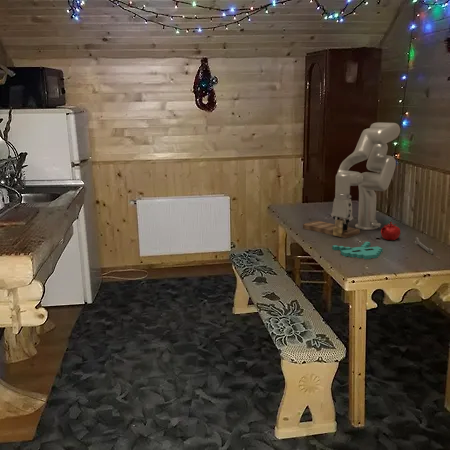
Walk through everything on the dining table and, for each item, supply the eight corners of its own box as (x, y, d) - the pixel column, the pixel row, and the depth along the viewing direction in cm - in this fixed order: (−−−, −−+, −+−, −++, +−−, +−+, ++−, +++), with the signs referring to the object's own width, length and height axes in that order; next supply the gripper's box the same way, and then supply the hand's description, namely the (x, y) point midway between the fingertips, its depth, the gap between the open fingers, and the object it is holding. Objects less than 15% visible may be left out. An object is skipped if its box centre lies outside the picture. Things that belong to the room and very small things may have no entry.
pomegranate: (402, 238, 277) (403, 221, 275) (396, 242, 269) (398, 224, 267) (383, 235, 282) (385, 218, 280) (377, 239, 274) (378, 222, 272)
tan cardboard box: (348, 234, 284) (349, 219, 282) (340, 236, 279) (341, 221, 277) (340, 232, 287) (341, 218, 285) (333, 235, 283) (333, 220, 281)
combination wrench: (433, 248, 247) (417, 236, 266) (430, 248, 247) (414, 236, 266) (432, 256, 248) (416, 243, 267) (430, 256, 248) (414, 243, 267)
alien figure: (332, 249, 261) (351, 261, 242) (332, 245, 260) (352, 257, 242) (368, 245, 266) (390, 257, 247) (368, 241, 265) (390, 252, 247)
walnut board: (359, 233, 286) (359, 229, 286) (346, 238, 279) (346, 233, 278) (316, 224, 308) (316, 220, 308) (302, 228, 301) (302, 224, 300)
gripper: (359, 197, 275) (358, 231, 279) (334, 193, 287) (333, 225, 292) (351, 199, 270) (350, 233, 275) (325, 195, 282) (324, 228, 287)
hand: (341, 229), depth 283 cm, fingers closed on tan cardboard box, 4 cm apart
